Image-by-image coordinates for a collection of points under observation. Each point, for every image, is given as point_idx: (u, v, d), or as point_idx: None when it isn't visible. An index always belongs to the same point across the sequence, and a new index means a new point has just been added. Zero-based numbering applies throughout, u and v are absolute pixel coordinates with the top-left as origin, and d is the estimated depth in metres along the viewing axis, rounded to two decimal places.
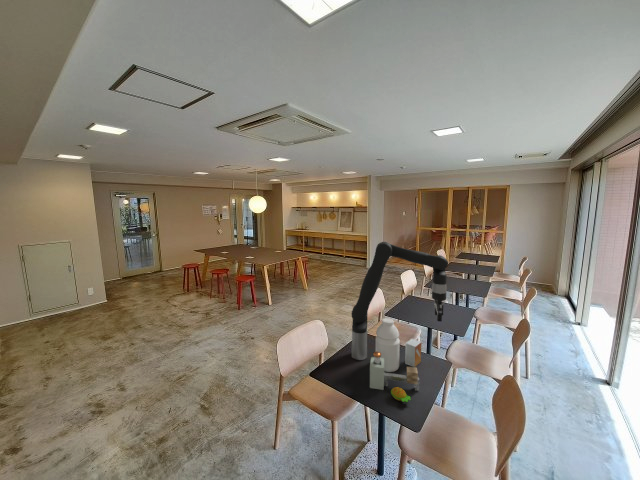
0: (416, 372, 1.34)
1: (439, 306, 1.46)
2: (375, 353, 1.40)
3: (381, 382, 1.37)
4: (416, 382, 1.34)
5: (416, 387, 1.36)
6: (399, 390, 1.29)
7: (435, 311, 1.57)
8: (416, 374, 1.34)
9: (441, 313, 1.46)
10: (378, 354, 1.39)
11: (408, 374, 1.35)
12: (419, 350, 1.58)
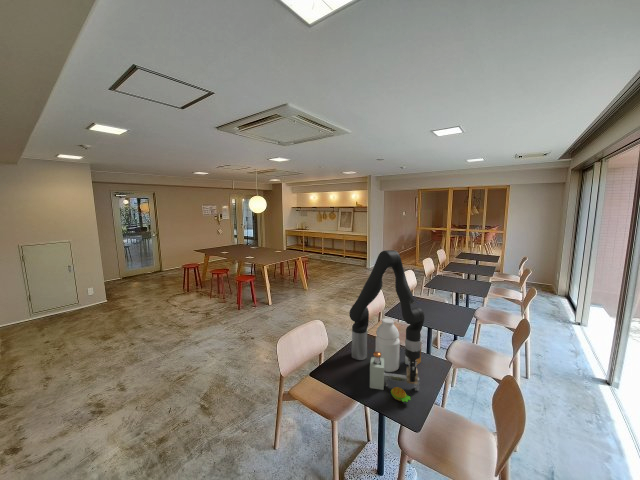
0: (416, 372, 1.34)
1: (411, 368, 1.30)
2: (375, 353, 1.40)
3: (381, 382, 1.37)
4: (416, 382, 1.34)
5: (416, 387, 1.36)
6: (399, 390, 1.29)
7: None
8: (416, 374, 1.34)
9: (414, 374, 1.31)
10: (378, 354, 1.39)
11: (408, 374, 1.35)
12: None
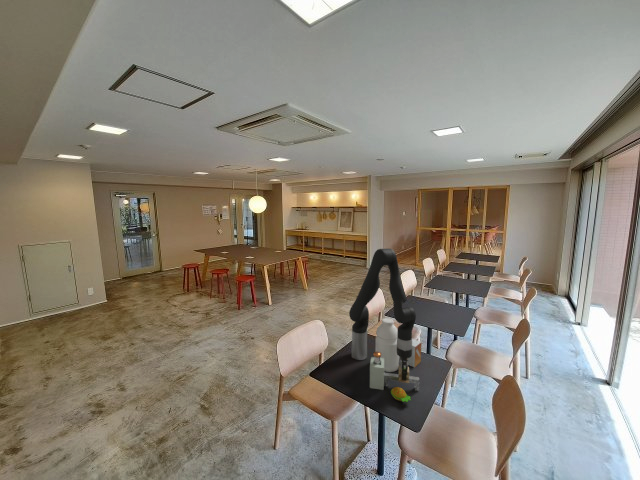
0: (408, 371, 1.35)
1: (403, 367, 1.31)
2: (375, 353, 1.40)
3: (381, 382, 1.37)
4: (408, 381, 1.35)
5: (416, 387, 1.36)
6: (399, 390, 1.29)
7: None
8: (408, 373, 1.35)
9: (405, 373, 1.32)
10: (378, 354, 1.39)
11: (400, 373, 1.36)
12: (419, 350, 1.58)
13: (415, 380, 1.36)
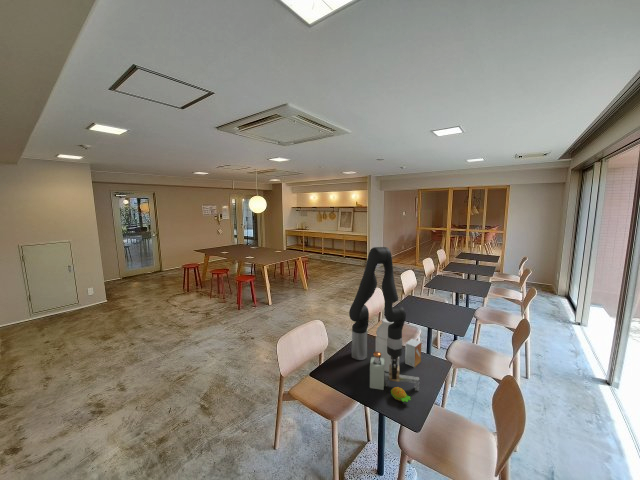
0: (398, 370, 1.37)
1: (393, 366, 1.32)
2: (375, 353, 1.40)
3: (381, 382, 1.37)
4: (398, 379, 1.37)
5: (416, 387, 1.36)
6: (399, 390, 1.29)
7: None
8: (398, 372, 1.36)
9: (395, 372, 1.33)
10: (378, 354, 1.39)
11: (390, 372, 1.37)
12: (419, 350, 1.58)
13: (415, 380, 1.36)
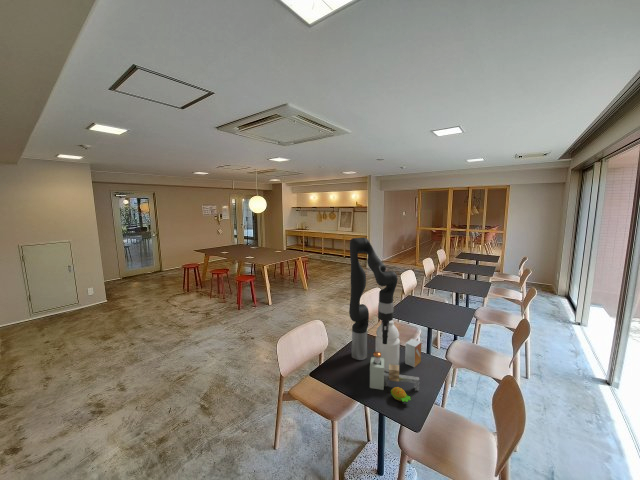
0: (398, 370, 1.37)
1: (383, 328, 1.31)
2: (375, 353, 1.40)
3: (381, 382, 1.37)
4: (398, 379, 1.37)
5: (416, 387, 1.36)
6: (399, 390, 1.29)
7: None
8: (398, 372, 1.36)
9: (385, 335, 1.31)
10: (378, 354, 1.39)
11: (390, 372, 1.37)
12: (419, 350, 1.58)
13: (415, 380, 1.36)
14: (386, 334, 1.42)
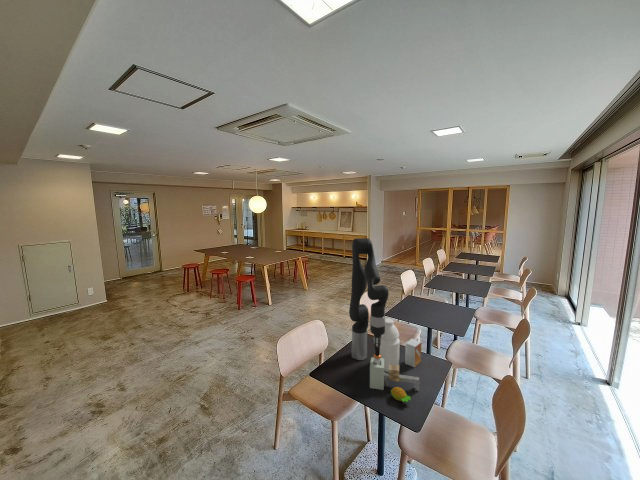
0: (398, 370, 1.37)
1: (375, 345, 1.34)
2: None
3: (381, 382, 1.37)
4: (398, 379, 1.37)
5: (416, 387, 1.36)
6: (399, 390, 1.29)
7: None
8: (398, 372, 1.36)
9: (378, 348, 1.36)
10: None
11: (390, 372, 1.37)
12: (419, 350, 1.58)
13: (415, 380, 1.36)
14: None
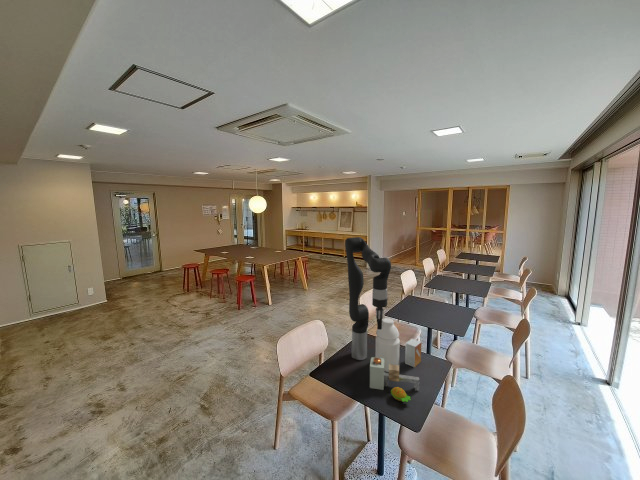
0: (398, 370, 1.37)
1: (377, 318, 1.32)
2: (375, 359, 1.41)
3: (381, 382, 1.37)
4: (398, 379, 1.37)
5: (416, 387, 1.36)
6: (399, 390, 1.29)
7: None
8: (398, 372, 1.36)
9: (380, 321, 1.35)
10: (378, 360, 1.40)
11: (390, 372, 1.37)
12: (419, 350, 1.58)
13: (415, 380, 1.36)
14: None
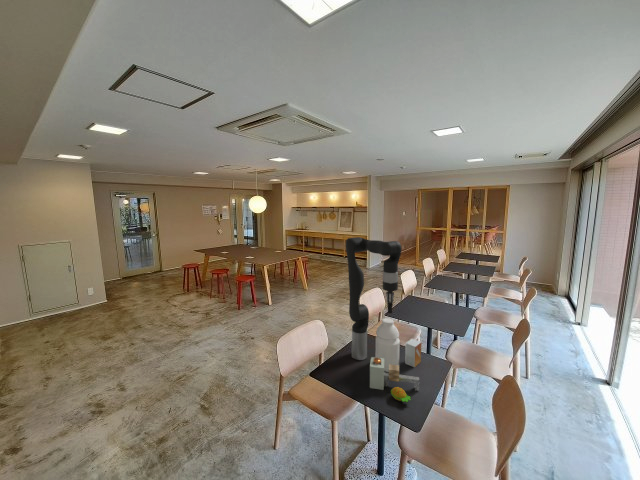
0: (398, 370, 1.37)
1: (388, 301, 1.32)
2: (375, 359, 1.41)
3: (381, 382, 1.37)
4: (398, 379, 1.37)
5: (416, 387, 1.36)
6: (399, 390, 1.29)
7: (388, 308, 1.38)
8: (398, 372, 1.36)
9: (390, 305, 1.34)
10: (378, 360, 1.40)
11: (390, 372, 1.37)
12: (419, 350, 1.58)
13: (415, 380, 1.36)
14: (391, 311, 1.38)
